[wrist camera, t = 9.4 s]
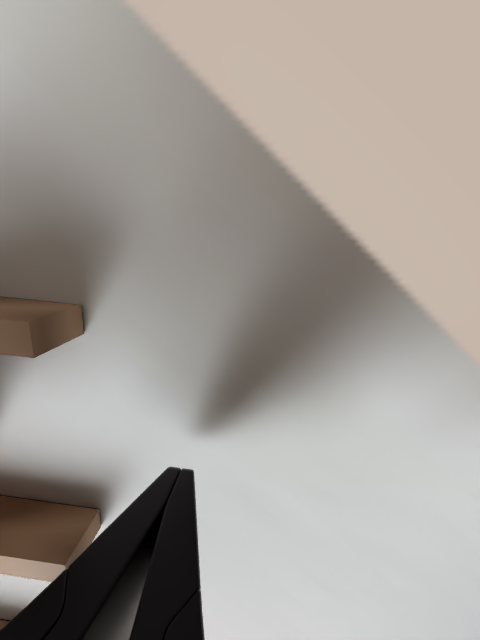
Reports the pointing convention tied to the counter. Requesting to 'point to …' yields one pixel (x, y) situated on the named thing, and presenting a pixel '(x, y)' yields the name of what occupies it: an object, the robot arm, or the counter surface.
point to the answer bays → (29, 515)
